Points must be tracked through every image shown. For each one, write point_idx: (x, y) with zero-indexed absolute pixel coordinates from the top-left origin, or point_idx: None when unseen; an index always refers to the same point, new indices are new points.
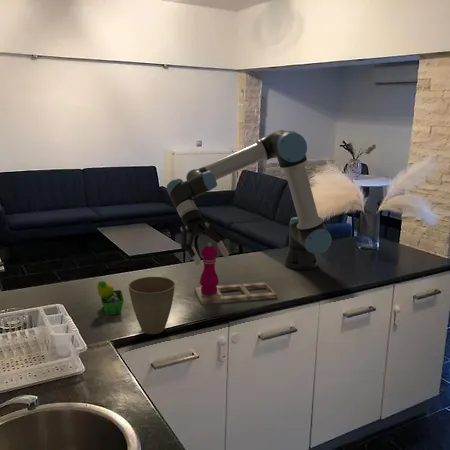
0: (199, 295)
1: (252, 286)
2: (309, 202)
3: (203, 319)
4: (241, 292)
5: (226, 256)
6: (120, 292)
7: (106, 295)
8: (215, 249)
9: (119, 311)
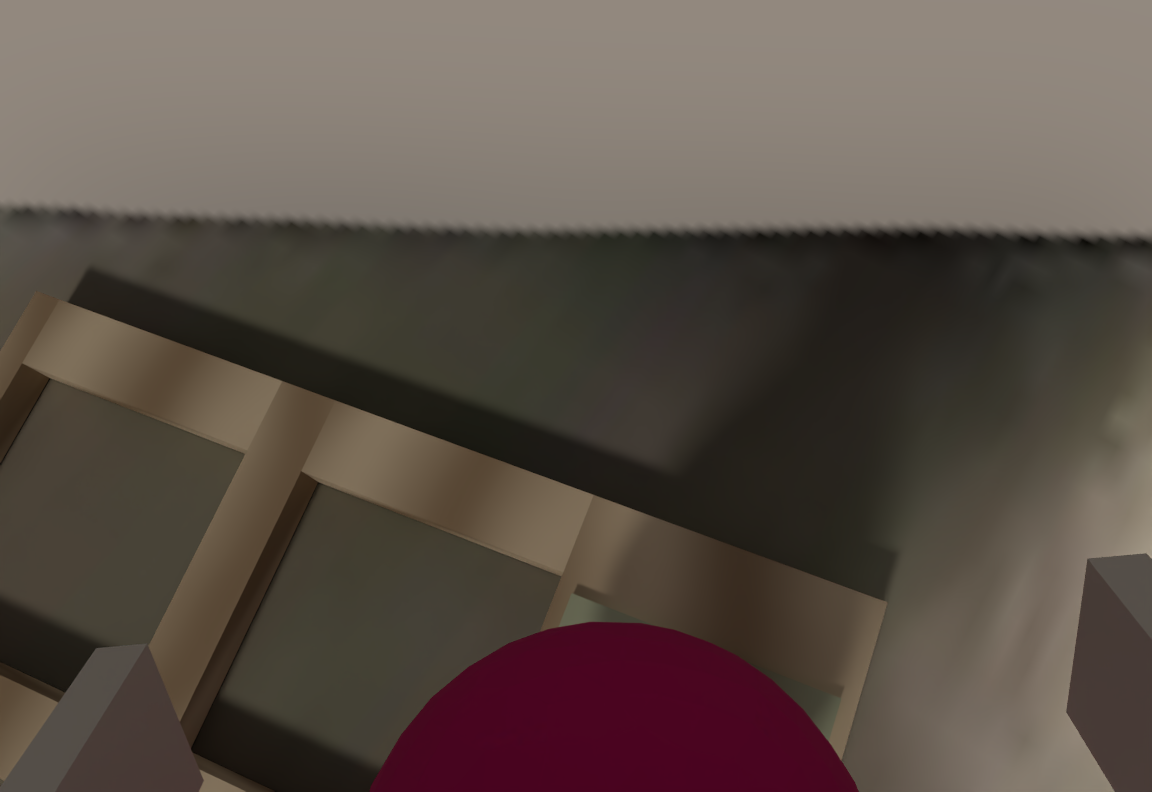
0: None
1: (22, 680)
2: None
3: (1049, 243)
4: (236, 650)
5: (165, 717)
6: None
7: None
8: (470, 703)
9: None
